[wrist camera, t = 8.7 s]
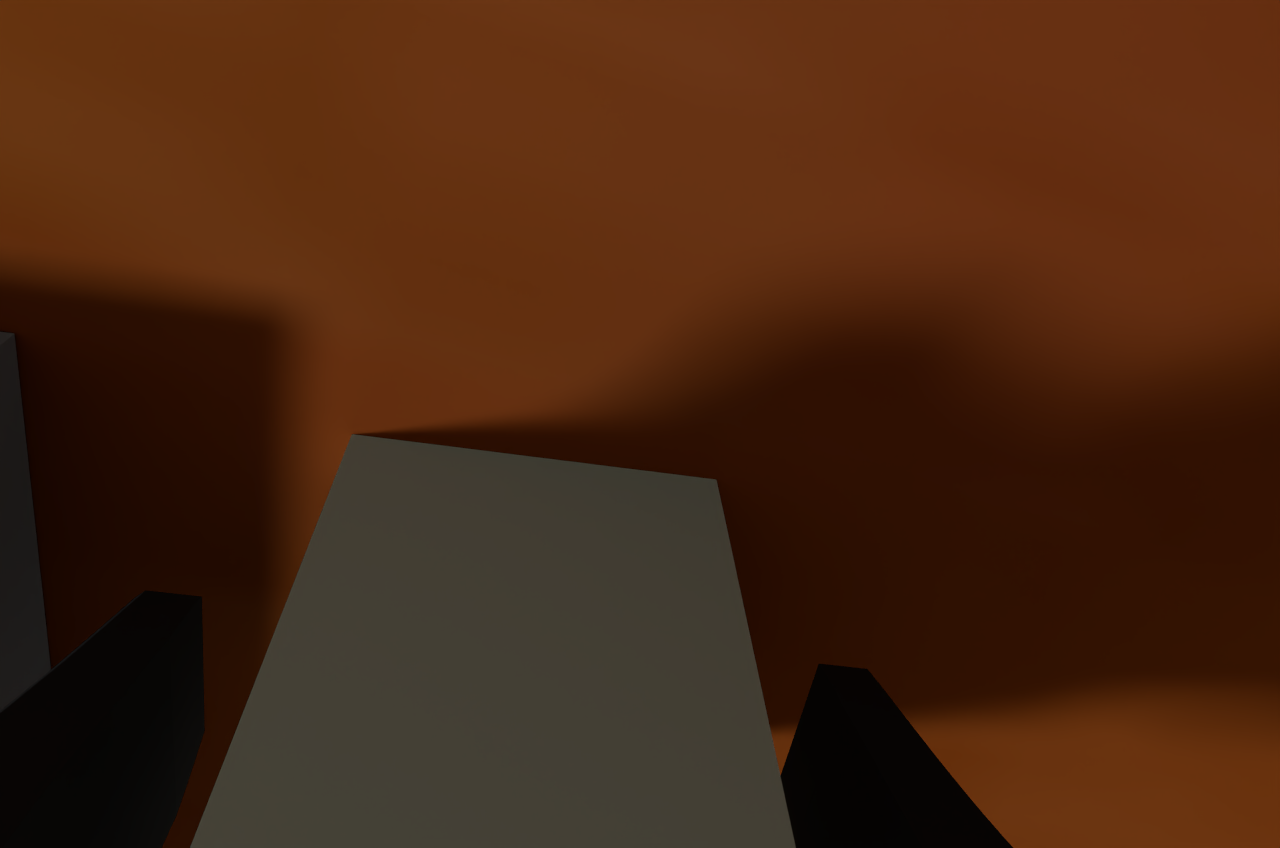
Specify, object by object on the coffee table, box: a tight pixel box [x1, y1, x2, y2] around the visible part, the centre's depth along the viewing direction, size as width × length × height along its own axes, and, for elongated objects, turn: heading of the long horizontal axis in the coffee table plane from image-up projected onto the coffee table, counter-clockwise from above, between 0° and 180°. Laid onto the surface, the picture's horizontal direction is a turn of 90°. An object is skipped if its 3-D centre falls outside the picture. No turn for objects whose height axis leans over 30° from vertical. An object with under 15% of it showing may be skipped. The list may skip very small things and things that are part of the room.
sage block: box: [190, 434, 796, 848], centre depth 11 cm, size 4×4×6 cm
